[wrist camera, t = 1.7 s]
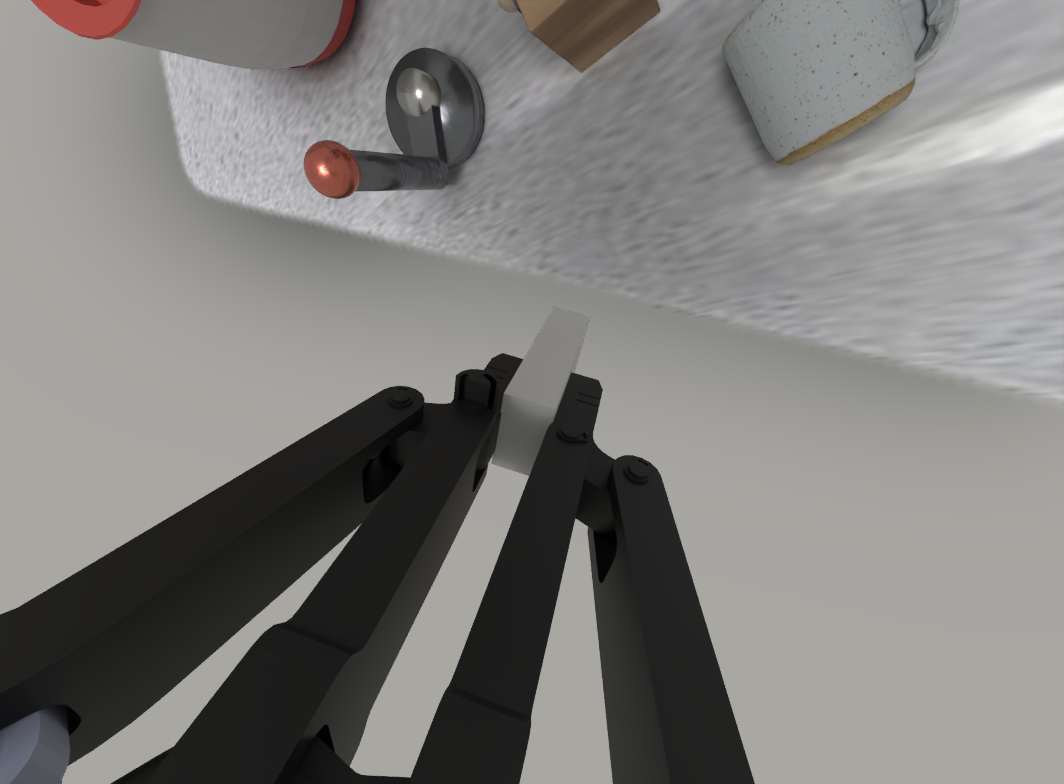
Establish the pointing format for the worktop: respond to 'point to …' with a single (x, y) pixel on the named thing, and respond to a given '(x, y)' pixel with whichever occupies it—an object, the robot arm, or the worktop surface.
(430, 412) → the robot arm
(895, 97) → the ceramic mug
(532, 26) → the walnut stand
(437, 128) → the lever with red knob
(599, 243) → the worktop surface
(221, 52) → the citrus juicer
